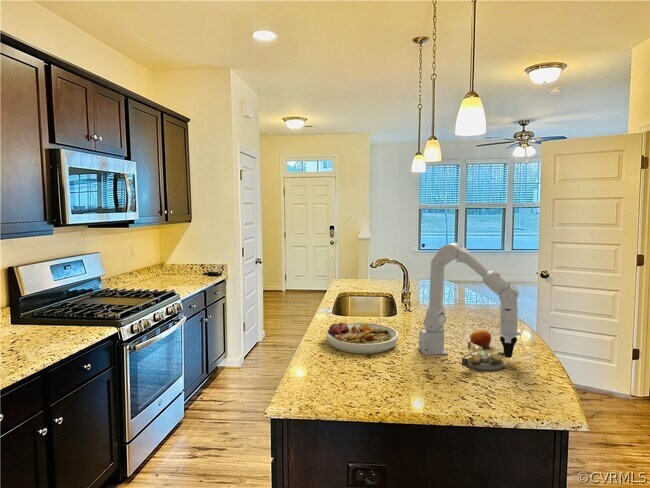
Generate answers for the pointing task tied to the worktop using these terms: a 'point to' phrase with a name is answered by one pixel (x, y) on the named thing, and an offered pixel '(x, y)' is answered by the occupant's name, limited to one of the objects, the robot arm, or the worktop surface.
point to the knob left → (472, 359)
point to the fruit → (481, 338)
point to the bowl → (361, 337)
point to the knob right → (497, 357)
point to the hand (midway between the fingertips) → (508, 356)
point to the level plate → (486, 363)
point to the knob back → (474, 347)
